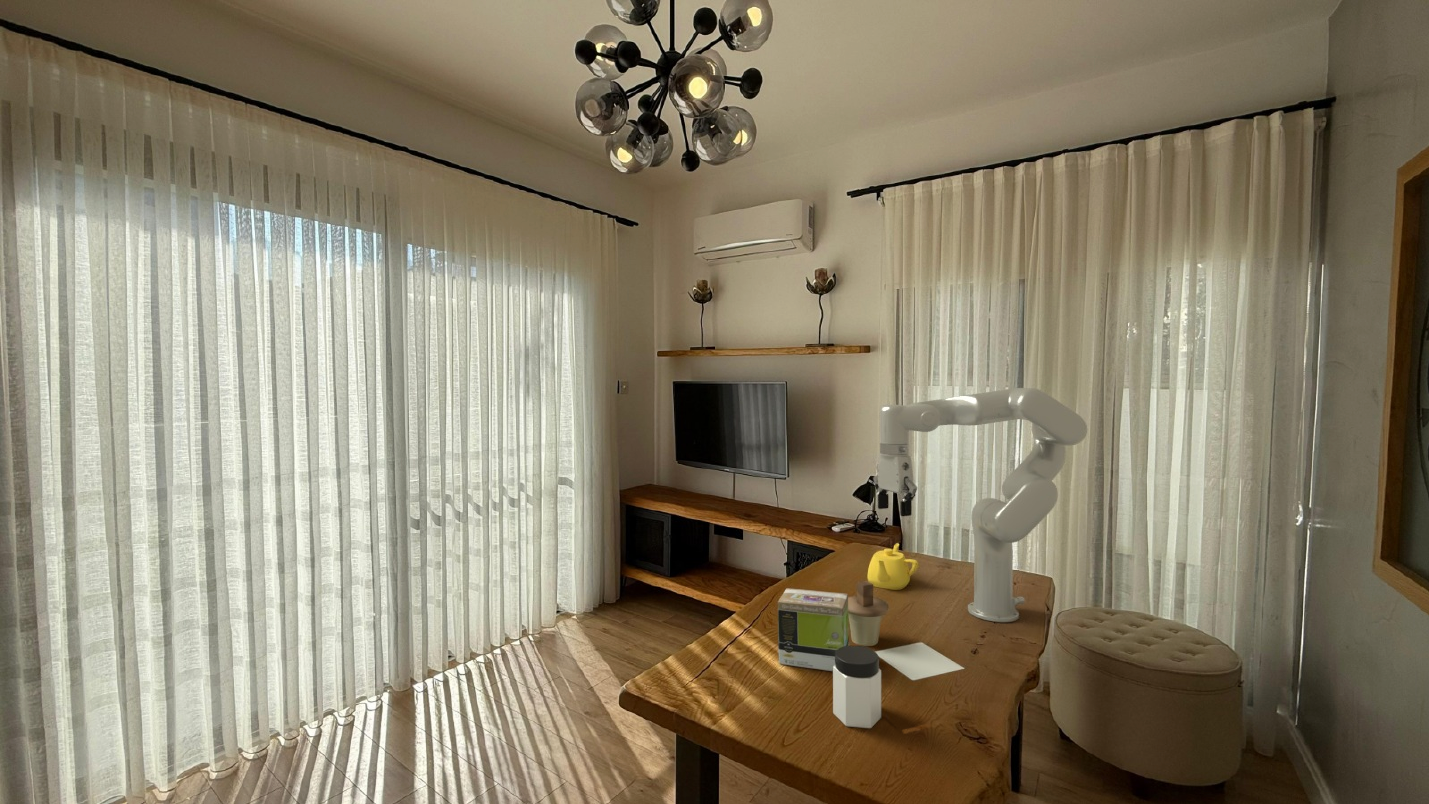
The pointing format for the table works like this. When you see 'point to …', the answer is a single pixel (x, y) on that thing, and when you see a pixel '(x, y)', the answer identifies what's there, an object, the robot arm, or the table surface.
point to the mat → (918, 661)
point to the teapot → (890, 569)
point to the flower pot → (864, 629)
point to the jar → (857, 686)
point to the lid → (866, 602)
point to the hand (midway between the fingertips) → (894, 512)
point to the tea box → (812, 627)
